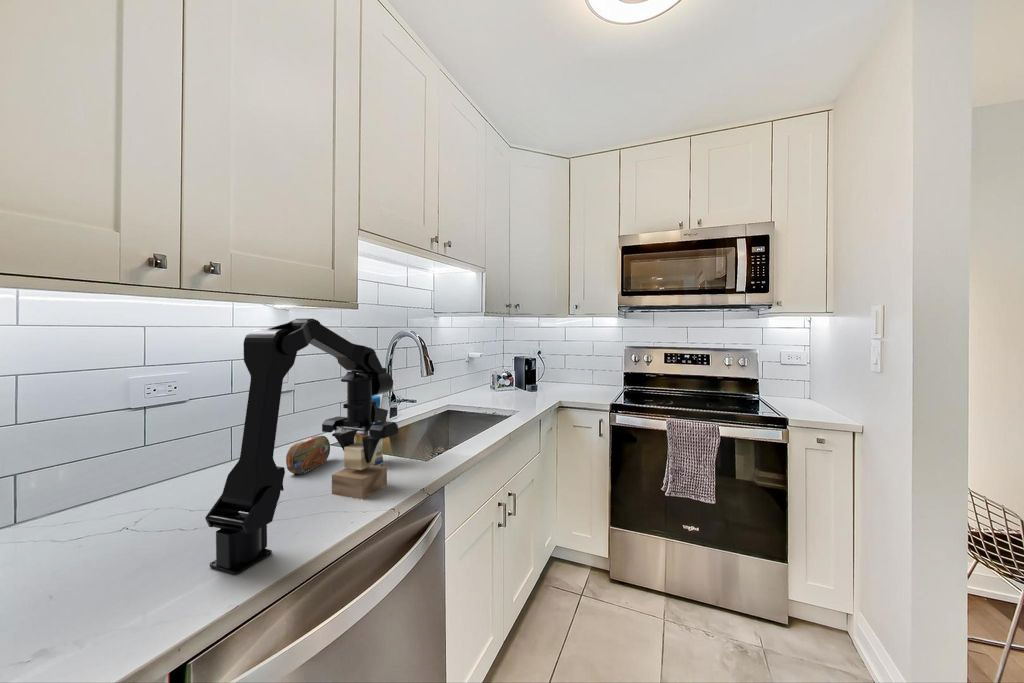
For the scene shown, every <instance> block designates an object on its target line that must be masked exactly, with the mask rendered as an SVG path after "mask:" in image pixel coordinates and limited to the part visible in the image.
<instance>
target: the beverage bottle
mask: <svg viewBox="0 0 1024 683" xmlns="http://www.w3.org/2000/svg"><path fill="white" fill-rule="evenodd" d="M372 401H376V407H377V408H381V397H380V395H373V396H372ZM379 422H382V421H378V422H373V423H372V424H376V423H379ZM355 427H357V426H355ZM366 436H368V432H367V431H357V433H356V435H355V437H354V443H357V442H363V441H362V438H363V437H366ZM383 439H384V438H383ZM383 439H380V440H379V442H378V444H377V446H376V449H375V464H373V465H378V466H382V465H383V463H384V456H383V455H384V454H383Z"/></svg>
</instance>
